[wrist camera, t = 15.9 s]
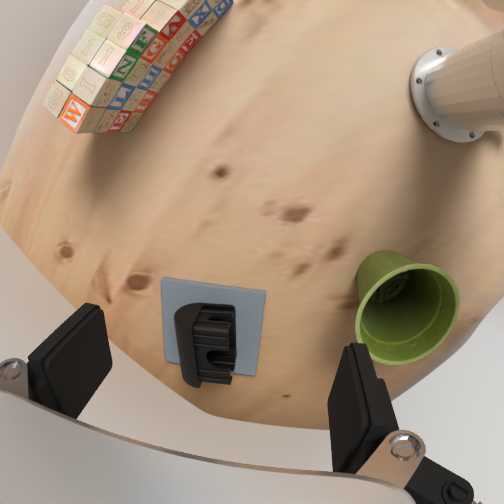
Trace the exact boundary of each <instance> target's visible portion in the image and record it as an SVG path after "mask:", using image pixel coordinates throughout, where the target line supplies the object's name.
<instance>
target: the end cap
mask: <svg viewBox="0 0 504 504" xmlns="http://www.w3.org/2000/svg"><path fill="white" fill-rule="evenodd" d="M174 324H175V331H176V339H177V345H178V352H179V359H180V365H181V371H182V376H183V379H184V381H185V382H186V383H187V384H189V385H190V386H193V387H196V388H200V385H201V383H202V382H209V383H218V384H228V385H231V381H232V376H230V372H234V369H235V363H236V357H237V346H236V309H235V307H234V306H233V305H228V304H213V303H201V302H199V303H191V304H187V305H184V306H182V307H180V308H179V309H178V310H177V311H176V312H175V314H174Z"/></svg>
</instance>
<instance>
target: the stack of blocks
mask: <svg viewBox="0 0 504 504" xmlns="http://www.w3.org/2000/svg"><path fill="white" fill-rule="evenodd" d="M232 4H233V0H129V1H128V2H127V3H126V4H125V6H124V7H123V8H122V10H121V11H119V10H117V9H115V8H113V7H111V6H109V5H107V4H105V5H104V6H103V7H102V9H101V10H100V11H99V13H98V14H97V15H96V17H95V18H94V20H93V21H92V22H91V24H90V25H89V27H88V29H87V30H86V32H85V33H84V34H83V36H82V37H81V39H80V41H79V42H78V44H77V45H76V47H75V48H74V50H73V52H72V54H71V55H70V56H69V58H68V59H67V61H66V63H65V64H64V66H63V68H62V69H61V71H60V73H59V75H58V77H57V78H56V80H55V81H54V83H53V85H52V86H51V88H50V90H49V92H48V94H47V96H46V98H45V100H44V102H43V104H42V105H43V107H45V108H46V109H47V110H48V111H49V112H50V113H51V114H53V115H54V116H55V117H56V118H59V120H60V121H61V122H62V123H63V124H64V125H66V126H67V127H68V128H69V129H70V130H72V131H73V132H74V133H76V134H77V133H105V132H118V131H119V132H130V131H131V130H132V129H133V127H134V126H135V124H136V123H137V121H138V120H139V118H140V117H141V115H142V114H143V113H144V112H145V111H146V109H147V108H148V106H149V105H150V103H151V102H152V101H153V99H154V98H155V97H156V95H157V93H158V92H159V91H160V90H161V89H162V87H163V86H164V84H165V83H166V82H167V80H168V79H169V78H170V77H171V75H172V72H173V71H174V70H175V69H176V67H177V66H178V65H179V64H180V62H181V61H182V60H183V59H184V57H185V56H186V54H187V53H188V52H189V51H190V50H191V48H192V47H193V46H194V45H195V43H196V42H197V41H198V40H199V39H200V38H201V36H203V35H204V34H205V33H206V32H207V31H208V30H209V29H210V27H211V26H212V25H213V24H214V23H215V22H216V21H217V20H218V18H219V17H220V16H221V15H222V14H223V13H224V12H225V11H226V10H227V9H228V8H229V7H230V6H231V5H232Z"/></svg>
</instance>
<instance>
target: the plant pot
mask: <svg viewBox="0 0 504 504" xmlns="http://www.w3.org/2000/svg"><path fill="white" fill-rule="evenodd" d="M404 271H407V272H404ZM397 284H398V285H399V284H400V285H399V286H398V287H397V289H396V290H395V291H394V292H392V293H391V292H390V291H391V290H392V289H393V288H394V287H395V286H396V285H397ZM357 290H358V300H359V309H358V311H357V315H356V320H355V335H356V339H357V342H358V343H365V344H366V345H367V347H368V350H369V353H370V356H371V359H372V360H374V361H376V362H379V363H382V364H386V365H403V364H408V363H412V362H415V361H417V360H420V359H422V358H423V357H425V356H427V355H428V354H430V353H432V352H433V351H434V350H435V349H436V348H438V347H439V346H440V345H441V344H442V343H443V342H444V340H445V339H446V338H447V336H448V335H449V333H450V332H451V330H452V328H453V326H454V324H455V322H456V319H457V316H458V312H459V292H458V288H457V286H456V284H455V282H454V280H453V279H452V277H451V276H450V275H449V274H448V273H447V272H446V271H444V270H443V269H441V268H439V267H437V266H434V265H431V264H424V263H416V262H414V261H412V260H409V259H407V258H406V257H404V256H402V255H400V254H398V253H395V252H393V251H379V252H375V253H373V254H371V255H370V256H368V257H367V258H366V259H365V260H364V261H363V262H362V264H361V266H360V267H359V270H358V273H357Z"/></svg>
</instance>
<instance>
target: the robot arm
mask: <svg viewBox="0 0 504 504" xmlns="http://www.w3.org/2000/svg"><path fill="white" fill-rule="evenodd" d="M436 53H437V54H438V55H437V54H436ZM416 81H417V82H418V84H417V83H416ZM410 84H411V93H412V97H413V101H414V104H415V106H416V109H417V111H418V113H419V114H420V116H421V118H422V119H423V121H424V122H425V123H426V124H427V126H428V127H429V128H430V129H431V130H432V131H434V132H435V133H436V134H437V135H439V136H441V137H442V138H444V139H447V140H449V141H453V142H458V143H466V142H472V141H474V140H476V139H478V138H480V137H481V136H482V135H483V134H484V133H485V132H486V131H504V30H502V31H500V32H497V33H495V34H493V35H490V36H488V37H486V38H483V39H481V40H479V41H477V42H474V43H472V44H470V45H468V46H465V47H463V48H461V49H459V50H457V49H454V48H450V47H436V48H433V49H430V50H428V51H427V52H425V53H423V54H422V55H421V56H420V57H419V58H418V59H417V61H416V63H415V65H414V66H413V70H412V73H411V82H410ZM433 123H435V126H434V124H433ZM469 134H470V136H469ZM28 360H29V362H28V363H27V364H26V363H25V362H24V361H23V360H21V359H18V358H11V359H7V360H5V361H3V362H1V363H0V504H477V503H476V502H475V501H474V500H473V498H474V491H473V488H472V486H471V485H470V483H469V482H468V481H466V480H465V479H463V478H462V477H460V476H458V475H456V474H454V473H453V472H451V471H449V470H447V469H446V468H444V467H442V466H440V465H439V464H437V463H435V462H433V461H432V460H430V459H428V458H427V457H425V456H424V455H425V451H426V450H425V444H424V442H423V441H422V439H421V438H420V437H419V436H418V435H416V434H415V433H413V432H410V431H406V430H399V427H398V424H397V420H396V417H395V413H394V410H393V407H392V404H391V400H390V397H389V394H388V391H387V387H386V384H385V382H384V380H383V379H382V378H377V376H376V372H375V369H374V366H373V363H372V360H371V356H370V353H369V350H368V347H367V345H366V344H365V343H350V345H349V346H345V347H344V350H343V353H342V357H341V360H340V363H339V367H338V370H337V373H336V376H335V379H334V382H333V386H332V389H331V392H330V395H329V398H328V415H329V427H330V438H331V451H332V465H333V472H326V471H312V470H295V469H285V468H275V467H265V466H257V465H249V464H241V463H235V462H229V461H222V460H217V459H211V458H206V457H201V456H196V455H192V454H187V453H183V452H178V451H174V450H170V449H166V448H162V447H158V446H154V445H151V444H147V443H144V442H140V441H137V440H133V439H130V438H127V437H124V436H121V435H118V434H115V433H111V432H109V431H106V430H103V429H100V428H97V427H95V426H92V425H89V424H86V423H84V422H81V421H79V420H76V419H77V418H78V416H79V415H80V413H81V412H82V410H83V409H84V407H85V406H86V404H87V403H88V401H89V400H90V399H91V397H92V396H93V394H94V393H95V391H96V390H97V389H98V387H99V386H100V384H101V383H102V381H103V380H104V379H105V377H106V376H107V374H108V373H109V371H110V370H111V368H112V357H111V352H110V347H109V342H108V336H107V330H106V324H105V318H104V312H103V310H101V309H100V307H99V306H98V305H95V304H90V303H85V304H83V305H82V306H81V307H80V308H79V309H78V310H77V311H76V312H75V313H73V314H72V315H71V316H70V317H69V318H68V319H67V320H66V321H65V322H64V323H63V324H61V325H60V326H59V327H58V328H57V329H56V330H55V331H54V332H53V333H52V334H51V335H50V336H49V337H48V338H47V339H45V341H43V342H42V343H41V344H40V345H39V346H38V347H37V348H36V349H35V350H34V351H33V352H32V353H31V354H30V355H29V356H28ZM478 504H482V503H481V502H479V503H478Z"/></svg>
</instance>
